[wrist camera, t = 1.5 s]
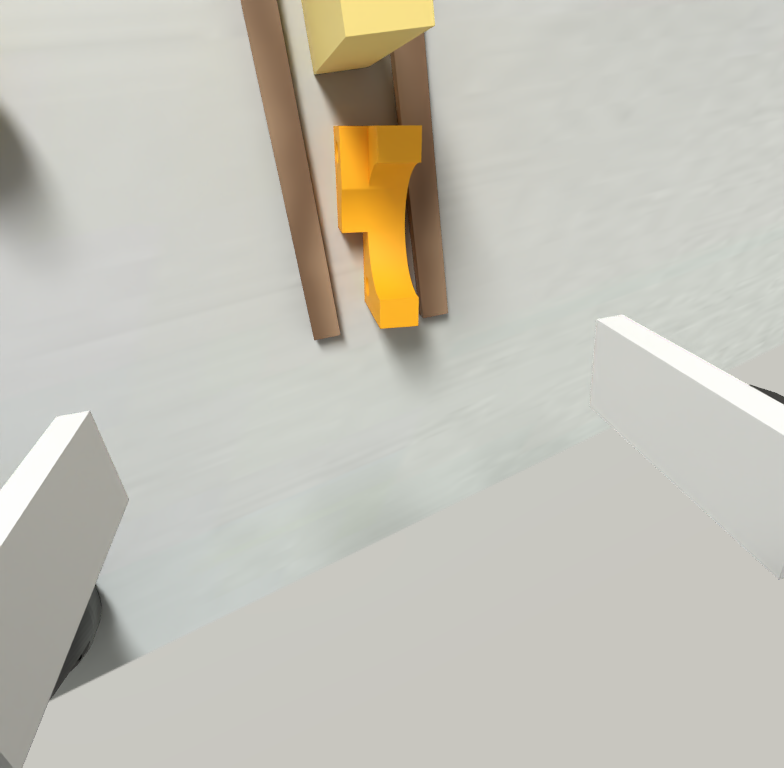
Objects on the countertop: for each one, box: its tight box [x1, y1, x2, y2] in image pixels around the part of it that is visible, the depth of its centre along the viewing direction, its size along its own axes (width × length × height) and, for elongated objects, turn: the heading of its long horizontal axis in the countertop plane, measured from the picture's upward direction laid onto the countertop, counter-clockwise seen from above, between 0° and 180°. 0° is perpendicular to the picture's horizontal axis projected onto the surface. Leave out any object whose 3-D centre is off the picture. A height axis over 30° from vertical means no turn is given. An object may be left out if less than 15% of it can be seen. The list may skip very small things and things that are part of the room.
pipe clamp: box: [333, 125, 422, 329], centre depth 35 cm, size 12×4×6 cm, turn 0°
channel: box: [241, 0, 448, 340], centre depth 35 cm, size 10×24×1 cm, turn 8°
